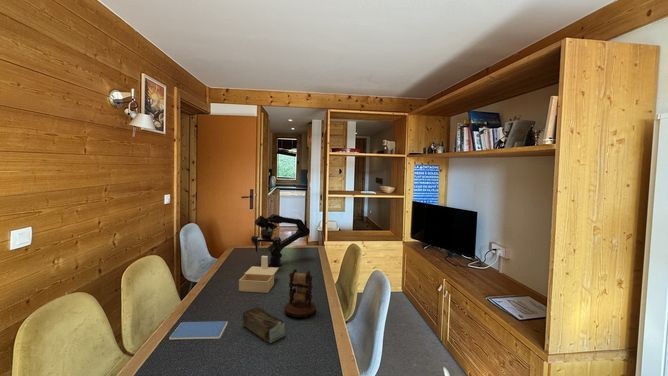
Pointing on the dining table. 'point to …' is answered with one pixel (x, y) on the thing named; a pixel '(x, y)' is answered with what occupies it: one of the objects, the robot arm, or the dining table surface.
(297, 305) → the wooden spool stand
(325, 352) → the dining table surface
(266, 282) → the carton
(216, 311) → the dining table surface
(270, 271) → the carton lid
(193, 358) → the dining table surface
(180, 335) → the tablet computer
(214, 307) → the dining table surface
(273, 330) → the beverage carton
